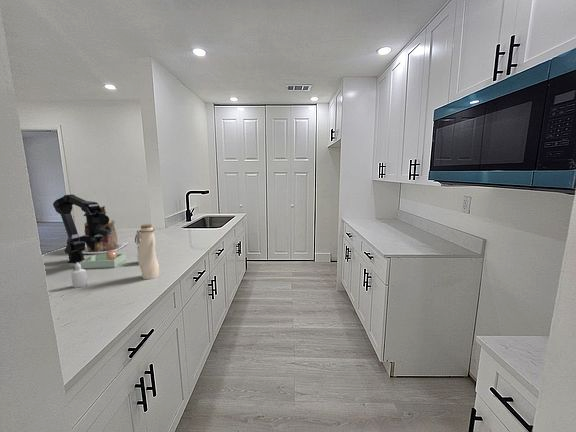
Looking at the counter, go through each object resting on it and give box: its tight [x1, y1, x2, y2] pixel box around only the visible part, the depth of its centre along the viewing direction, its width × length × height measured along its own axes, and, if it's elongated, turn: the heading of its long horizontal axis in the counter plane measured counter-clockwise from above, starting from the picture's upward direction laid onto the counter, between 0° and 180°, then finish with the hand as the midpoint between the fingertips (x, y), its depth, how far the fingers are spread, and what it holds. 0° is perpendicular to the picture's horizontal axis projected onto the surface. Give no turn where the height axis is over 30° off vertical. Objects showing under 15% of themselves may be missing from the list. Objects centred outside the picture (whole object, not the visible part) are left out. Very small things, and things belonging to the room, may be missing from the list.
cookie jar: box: [82, 205, 129, 255], centre depth 191 cm, size 25×25×32 cm
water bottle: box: [134, 223, 160, 280], centre depth 140 cm, size 10×9×28 cm
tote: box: [80, 253, 126, 270], centre depth 162 cm, size 18×14×4 cm
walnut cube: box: [87, 242, 103, 252], centre depth 160 cm, size 5×5×5 cm
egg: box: [106, 251, 118, 260], centre depth 162 cm, size 5×5×7 cm
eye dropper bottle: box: [70, 262, 88, 289], centre depth 130 cm, size 4×6×12 cm
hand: (95, 249), depth 160 cm, fingers closed on walnut cube, 5 cm apart
